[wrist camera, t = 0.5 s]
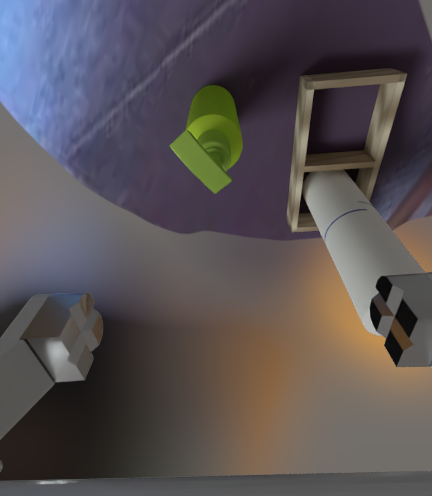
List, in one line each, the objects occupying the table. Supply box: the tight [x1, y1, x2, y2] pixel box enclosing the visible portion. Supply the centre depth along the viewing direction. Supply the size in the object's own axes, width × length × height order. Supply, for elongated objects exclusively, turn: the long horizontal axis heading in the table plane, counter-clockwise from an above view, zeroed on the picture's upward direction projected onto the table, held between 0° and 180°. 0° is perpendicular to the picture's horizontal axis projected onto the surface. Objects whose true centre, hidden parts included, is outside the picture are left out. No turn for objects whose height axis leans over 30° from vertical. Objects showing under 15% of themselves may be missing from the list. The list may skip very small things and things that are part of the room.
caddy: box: [287, 68, 407, 232], centre depth 42 cm, size 21×11×4 cm, turn 4°
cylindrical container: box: [302, 169, 425, 336], centre depth 37 cm, size 7×7×25 cm
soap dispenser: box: [170, 85, 243, 194], centre depth 31 cm, size 6×7×20 cm
